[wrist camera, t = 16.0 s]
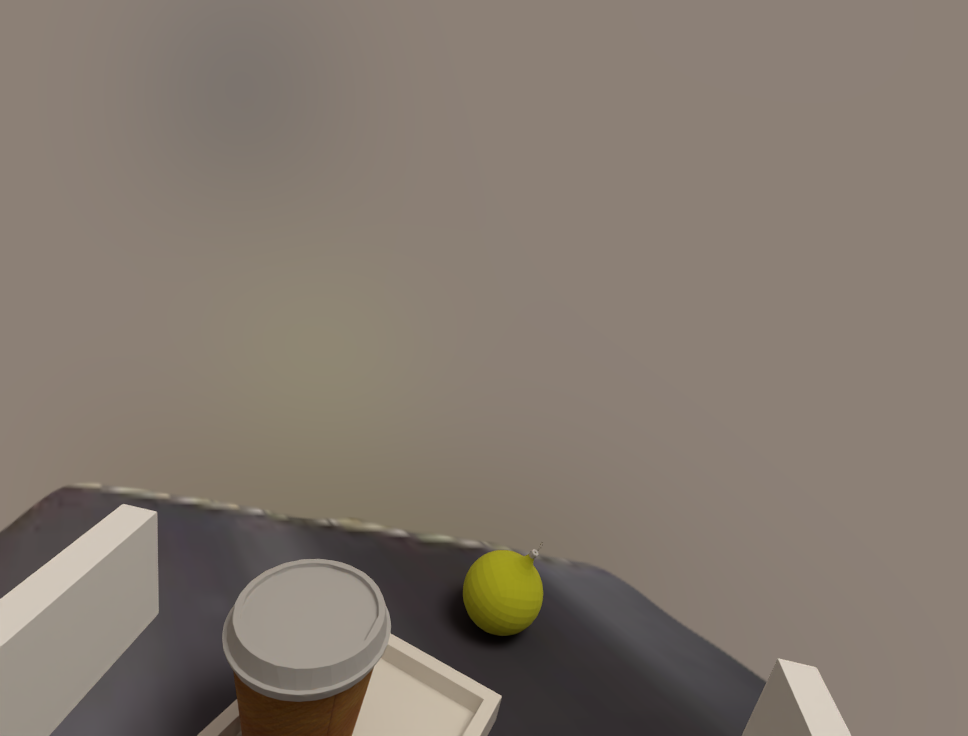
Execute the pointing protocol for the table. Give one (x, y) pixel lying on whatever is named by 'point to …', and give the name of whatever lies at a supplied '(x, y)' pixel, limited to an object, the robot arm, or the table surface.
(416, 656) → the square tray
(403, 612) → the table surface
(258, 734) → the disposable coffee cup
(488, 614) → the ornament
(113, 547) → the robot arm
